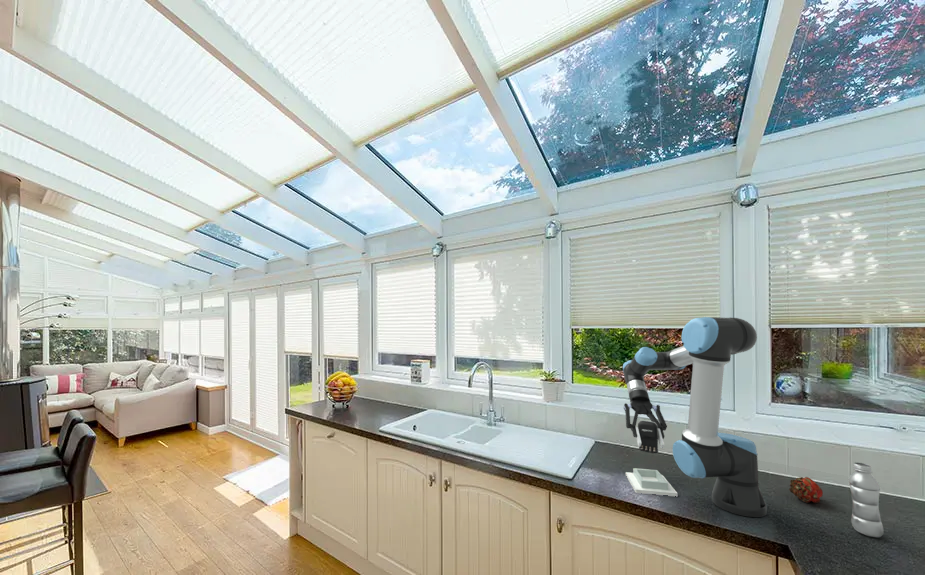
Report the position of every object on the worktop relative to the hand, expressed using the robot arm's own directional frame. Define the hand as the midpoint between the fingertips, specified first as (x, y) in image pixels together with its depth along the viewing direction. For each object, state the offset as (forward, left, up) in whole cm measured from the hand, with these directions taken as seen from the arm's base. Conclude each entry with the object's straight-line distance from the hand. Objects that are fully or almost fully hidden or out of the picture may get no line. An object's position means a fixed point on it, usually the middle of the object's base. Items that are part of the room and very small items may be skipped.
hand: (651, 445), depth 141 cm
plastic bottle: (-54, +19, -16) cm, 59 cm away
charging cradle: (0, -3, -16) cm, 16 cm away
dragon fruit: (-51, -2, -16) cm, 54 cm away
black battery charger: (0, -4, -4) cm, 5 cm away
